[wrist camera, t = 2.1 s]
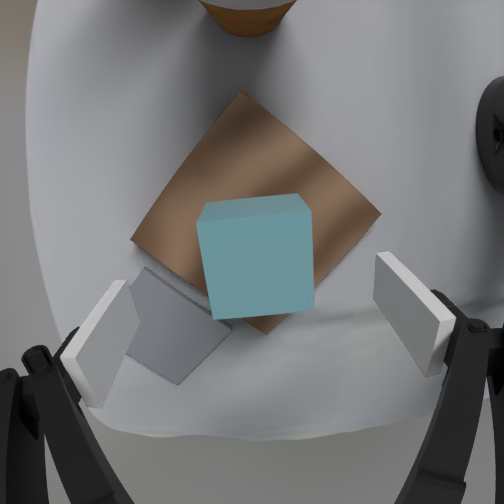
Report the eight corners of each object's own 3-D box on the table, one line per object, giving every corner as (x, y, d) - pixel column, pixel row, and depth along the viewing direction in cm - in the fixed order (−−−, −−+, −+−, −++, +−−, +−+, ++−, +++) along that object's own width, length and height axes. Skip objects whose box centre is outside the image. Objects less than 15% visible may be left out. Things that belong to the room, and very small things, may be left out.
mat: (232, 326, 33) (232, 330, 32) (178, 381, 36) (177, 384, 36) (144, 266, 30) (142, 269, 30) (101, 332, 33) (99, 335, 33)
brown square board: (373, 208, 29) (424, 244, 19) (265, 323, 33) (271, 392, 24) (241, 93, 25) (237, 72, 15) (137, 232, 29) (93, 278, 20)
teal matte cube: (297, 193, 22) (311, 210, 17) (302, 287, 25) (314, 323, 20) (206, 202, 22) (195, 222, 18) (221, 295, 25) (215, 332, 20)
